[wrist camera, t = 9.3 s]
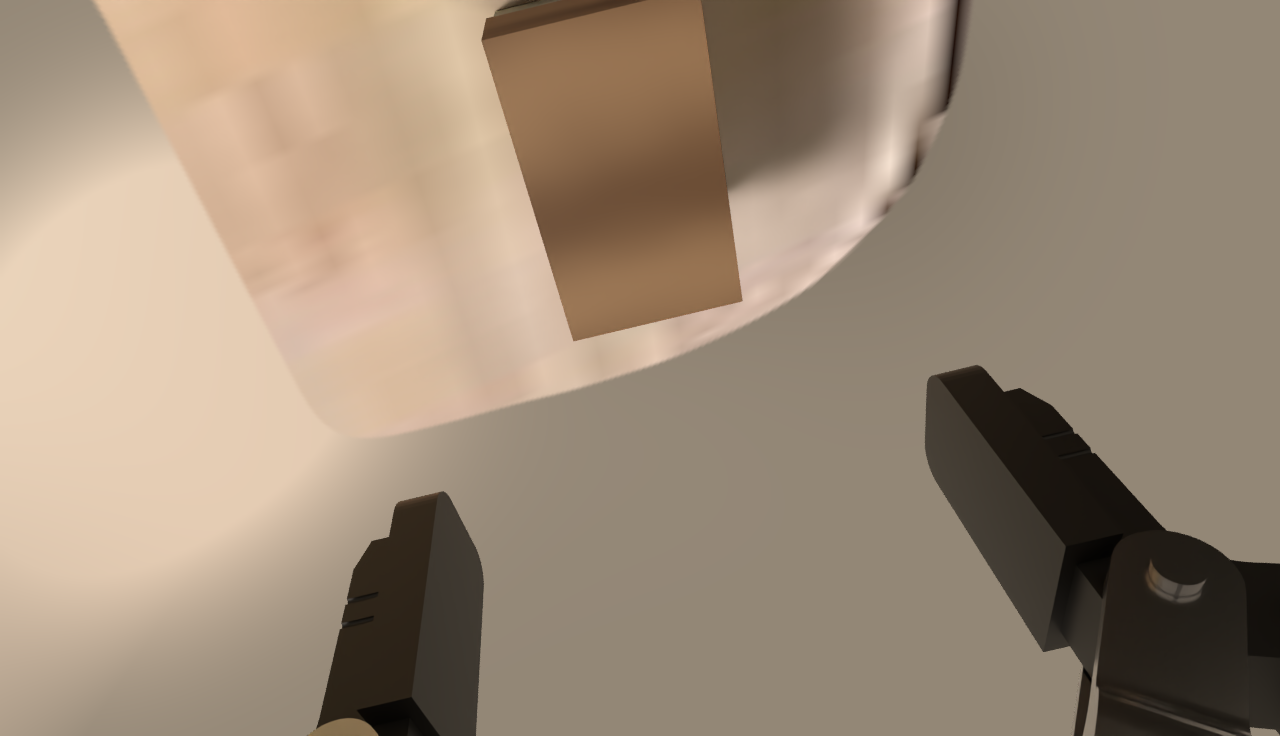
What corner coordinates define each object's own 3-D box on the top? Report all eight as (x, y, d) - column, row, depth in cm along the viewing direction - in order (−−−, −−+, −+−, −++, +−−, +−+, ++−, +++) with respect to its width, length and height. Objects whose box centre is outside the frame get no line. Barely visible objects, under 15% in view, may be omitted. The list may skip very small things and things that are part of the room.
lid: (485, 18, 23) (481, 40, 20) (680, -30, 22) (699, -13, 20) (569, 298, 28) (573, 341, 26) (723, 261, 28) (742, 301, 26)
